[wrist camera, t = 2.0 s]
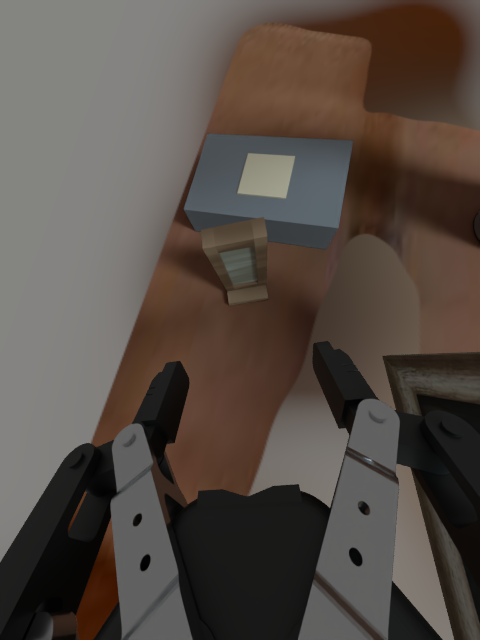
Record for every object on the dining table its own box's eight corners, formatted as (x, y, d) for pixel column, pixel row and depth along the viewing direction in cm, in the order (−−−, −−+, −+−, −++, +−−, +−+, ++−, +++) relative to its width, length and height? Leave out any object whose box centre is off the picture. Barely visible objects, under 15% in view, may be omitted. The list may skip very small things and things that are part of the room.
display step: (339, 173, 31) (353, 139, 26) (325, 249, 29) (338, 227, 24) (215, 164, 35) (207, 132, 30) (195, 231, 33) (182, 208, 28)
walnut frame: (267, 299, 29) (271, 256, 16) (230, 305, 30) (204, 268, 17) (262, 264, 30) (260, 198, 18) (225, 271, 31) (199, 211, 18)
